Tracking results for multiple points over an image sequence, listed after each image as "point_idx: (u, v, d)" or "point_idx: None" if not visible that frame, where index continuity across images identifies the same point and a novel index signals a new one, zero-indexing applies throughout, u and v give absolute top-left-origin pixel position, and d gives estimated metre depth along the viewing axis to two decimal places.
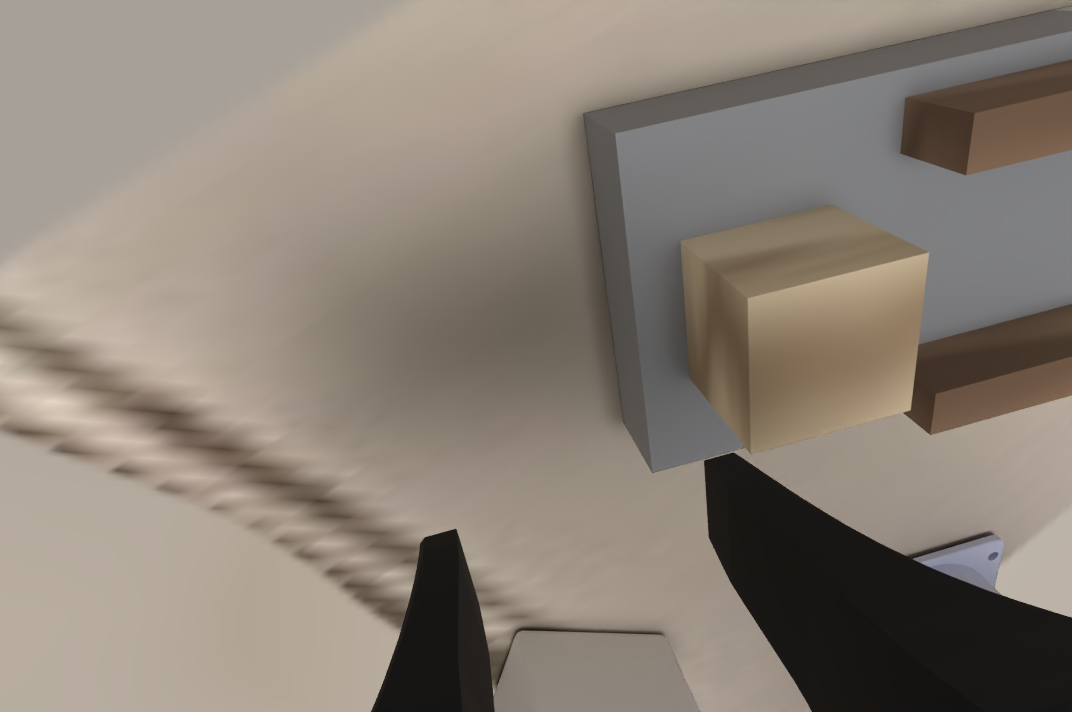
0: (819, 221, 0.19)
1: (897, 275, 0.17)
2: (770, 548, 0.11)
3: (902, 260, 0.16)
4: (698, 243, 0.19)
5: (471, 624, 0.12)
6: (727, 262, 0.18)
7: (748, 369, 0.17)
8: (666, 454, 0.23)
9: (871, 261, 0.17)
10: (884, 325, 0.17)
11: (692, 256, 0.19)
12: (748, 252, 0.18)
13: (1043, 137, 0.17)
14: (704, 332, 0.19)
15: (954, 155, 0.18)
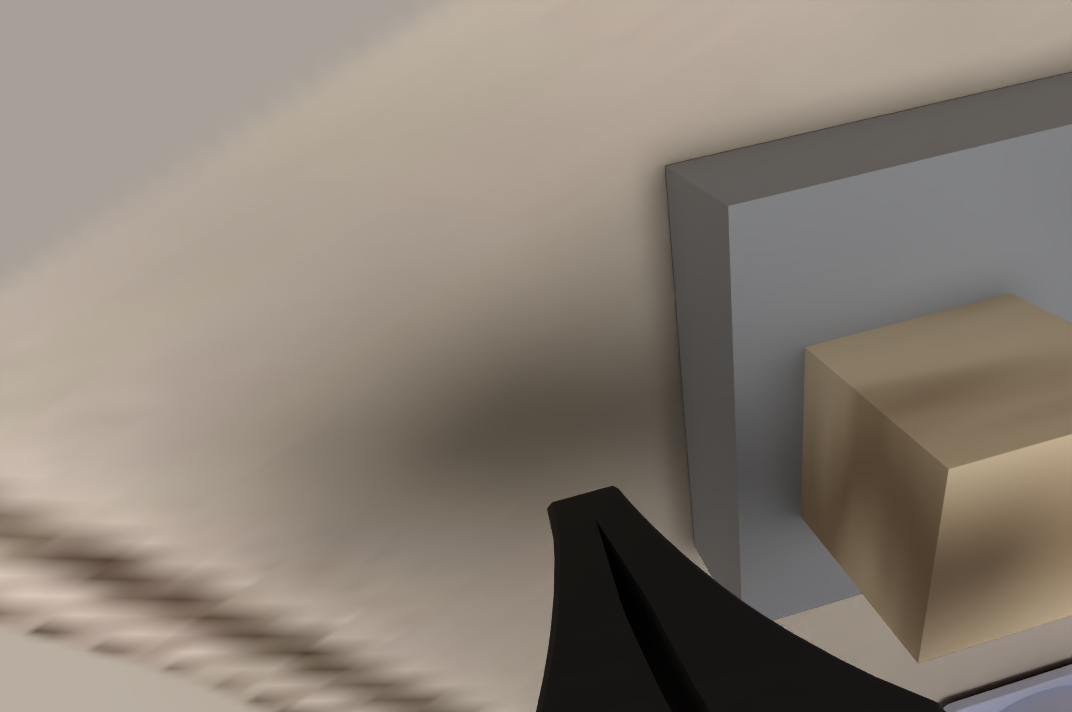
0: (1005, 322, 0.14)
1: None
2: (629, 589, 0.11)
3: None
4: (834, 352, 0.14)
5: None
6: (890, 393, 0.12)
7: (932, 560, 0.11)
8: (762, 607, 0.17)
9: None
10: None
11: (829, 374, 0.13)
12: (916, 375, 0.13)
13: None
14: (839, 475, 0.14)
15: None
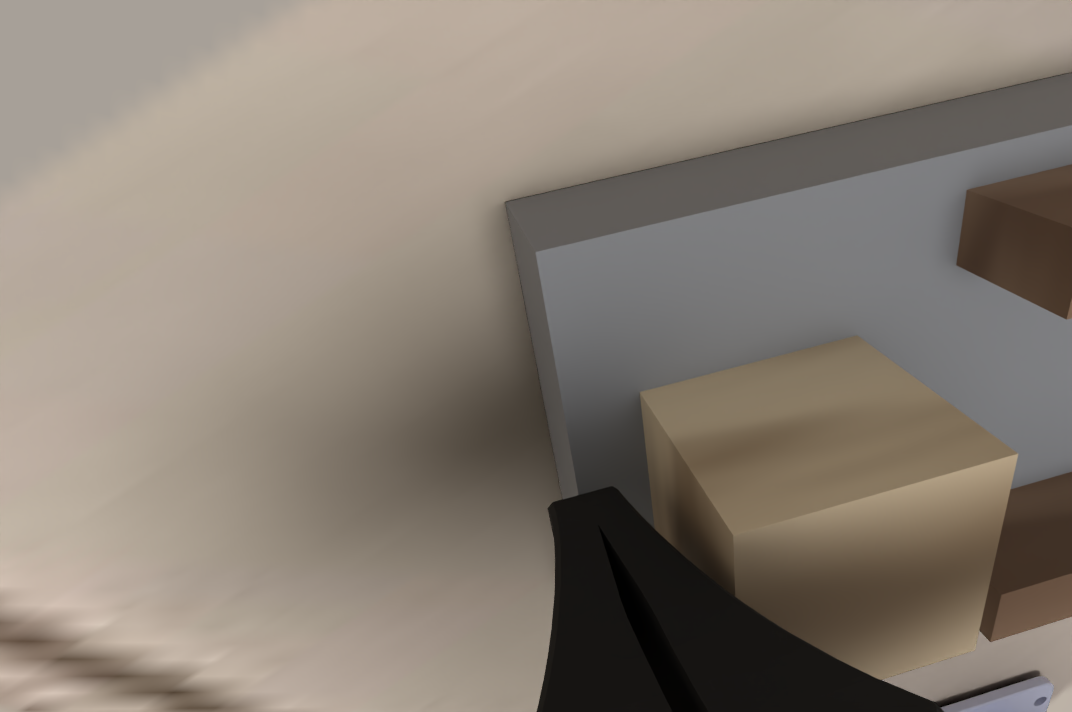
0: (840, 368, 0.13)
1: (967, 487, 0.11)
2: (628, 589, 0.11)
3: (976, 467, 0.10)
4: (665, 399, 0.13)
5: None
6: (704, 446, 0.12)
7: None
8: None
9: (926, 465, 0.11)
10: (943, 552, 0.11)
11: (655, 422, 0.13)
12: (736, 426, 0.12)
13: None
14: (674, 525, 0.13)
15: (1047, 286, 0.12)
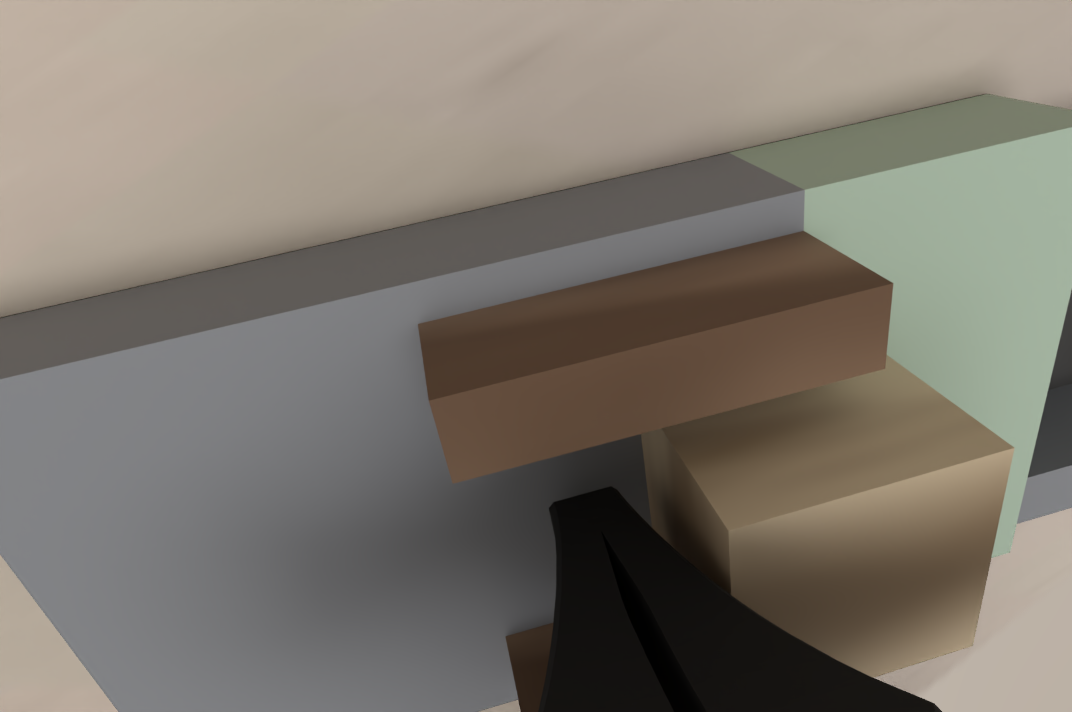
0: None
1: (963, 481, 0.11)
2: (627, 590, 0.11)
3: (972, 461, 0.10)
4: None
5: None
6: (699, 442, 0.12)
7: None
8: None
9: (922, 460, 0.11)
10: (940, 547, 0.11)
11: None
12: (732, 422, 0.12)
13: (578, 422, 0.10)
14: (671, 522, 0.13)
15: None
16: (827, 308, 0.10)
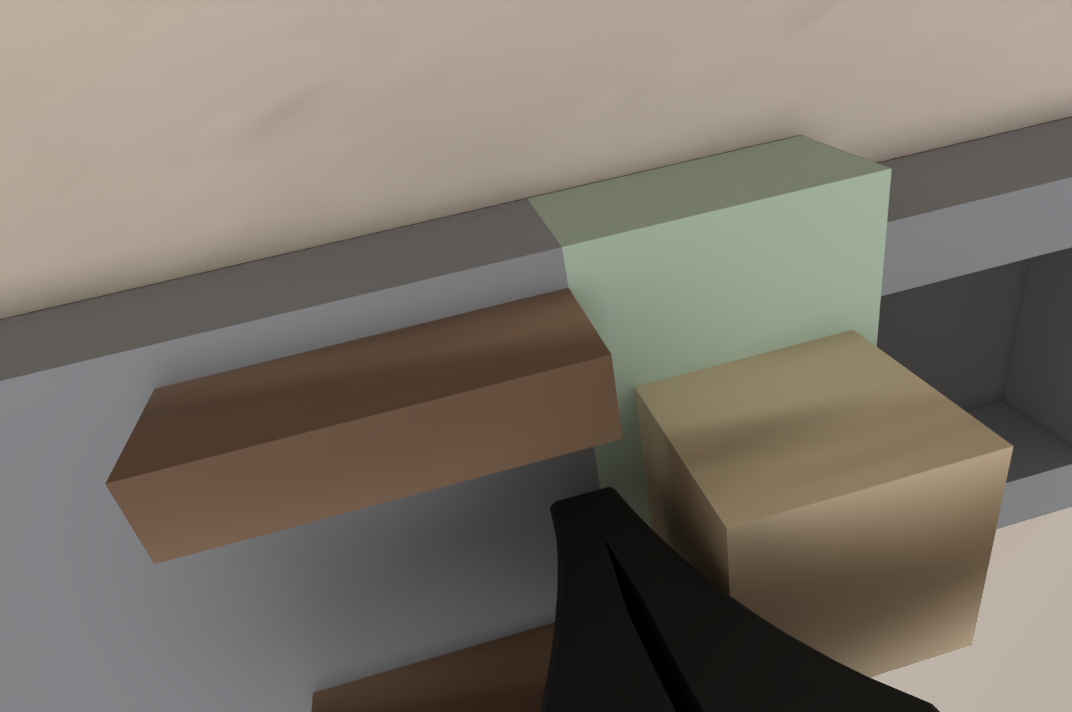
0: (836, 362, 0.13)
1: (962, 480, 0.11)
2: (625, 590, 0.11)
3: (971, 459, 0.10)
4: (660, 393, 0.13)
5: None
6: (699, 440, 0.12)
7: None
8: None
9: (921, 458, 0.11)
10: (939, 545, 0.11)
11: (650, 417, 0.13)
12: (731, 420, 0.12)
13: (283, 500, 0.10)
14: (669, 520, 0.13)
15: None
16: (541, 381, 0.10)
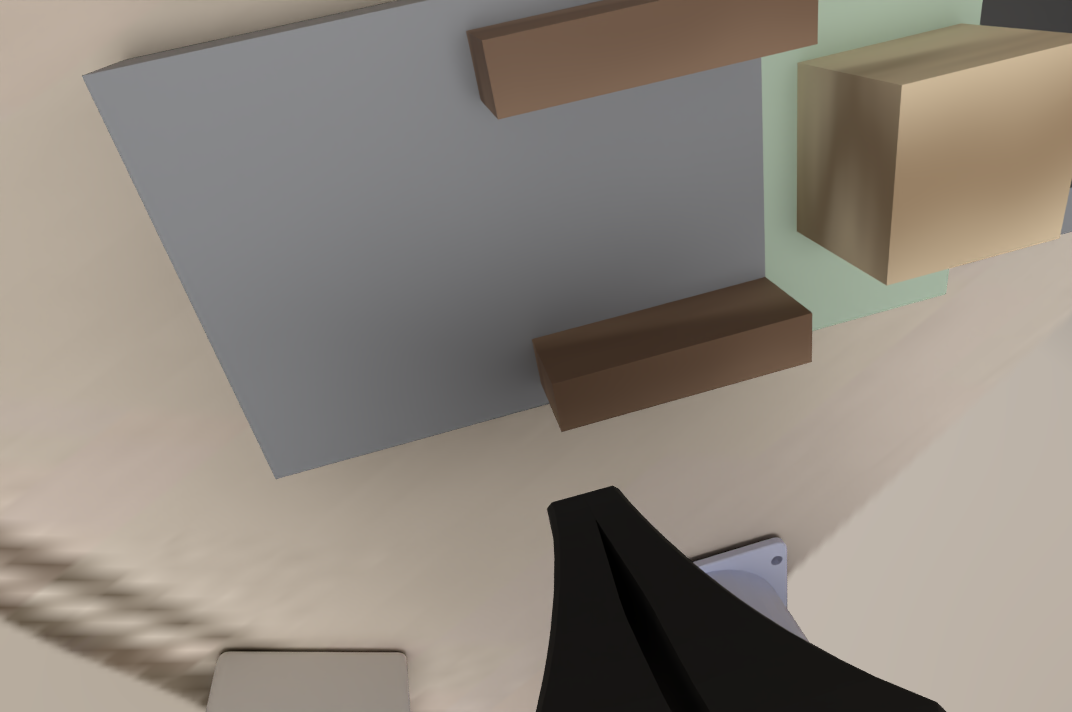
0: (954, 34, 0.17)
1: (1064, 64, 0.15)
2: (629, 589, 0.11)
3: (1071, 44, 0.15)
4: (820, 61, 0.17)
5: None
6: (861, 68, 0.16)
7: (893, 178, 0.15)
8: (287, 457, 0.20)
9: (1034, 48, 0.15)
10: (1043, 128, 0.15)
11: (816, 73, 0.17)
12: (882, 59, 0.16)
13: (589, 71, 0.14)
14: (826, 162, 0.18)
15: (490, 95, 0.15)
16: None
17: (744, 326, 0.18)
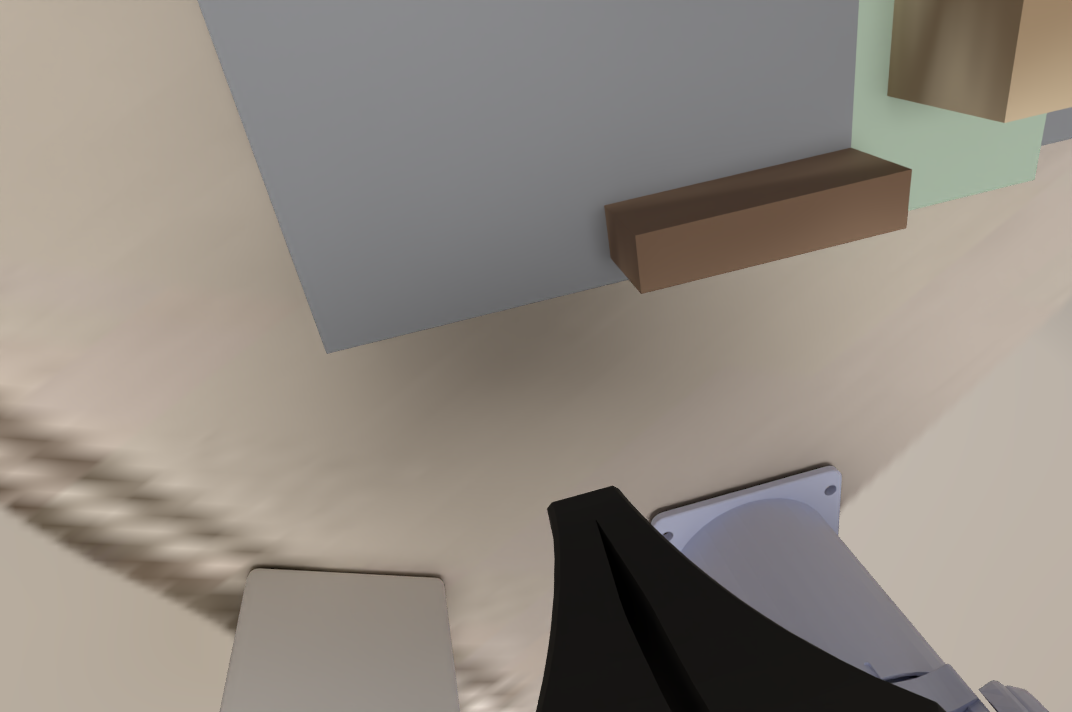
0: None
1: None
2: (629, 589, 0.11)
3: None
4: None
5: None
6: None
7: None
8: (339, 329, 0.19)
9: None
10: None
11: None
12: None
13: None
14: (932, 1, 0.16)
15: None
16: None
17: (839, 183, 0.17)
